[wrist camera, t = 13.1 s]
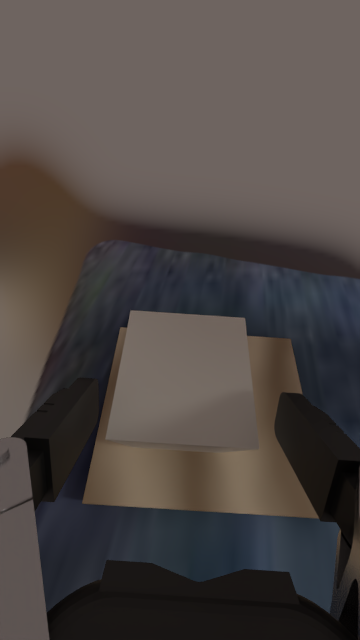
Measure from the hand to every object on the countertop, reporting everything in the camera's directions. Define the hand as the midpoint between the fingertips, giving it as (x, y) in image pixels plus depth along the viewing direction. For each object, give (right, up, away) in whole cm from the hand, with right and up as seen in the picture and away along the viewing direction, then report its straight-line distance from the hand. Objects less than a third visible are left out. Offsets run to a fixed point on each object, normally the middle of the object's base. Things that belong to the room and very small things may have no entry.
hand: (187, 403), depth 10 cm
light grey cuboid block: (0, -3, +8) cm, 9 cm away
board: (+2, -4, +9) cm, 10 cm away
